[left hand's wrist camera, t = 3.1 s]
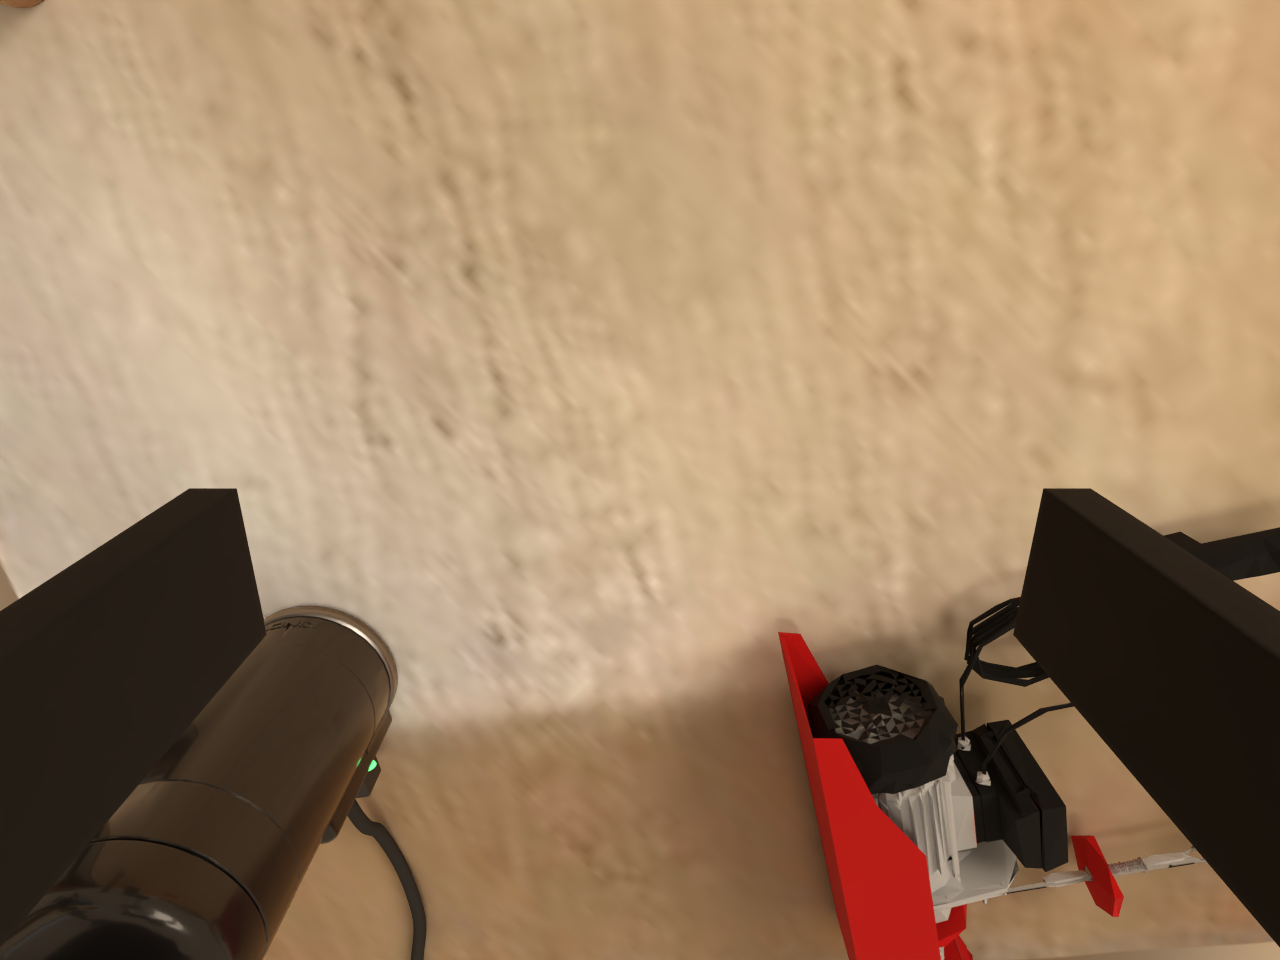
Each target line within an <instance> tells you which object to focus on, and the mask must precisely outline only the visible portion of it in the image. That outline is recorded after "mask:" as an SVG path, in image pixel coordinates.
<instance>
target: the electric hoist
mask: <svg viewBox="0 0 1280 960" xmlns="http://www.w3.org/2000/svg"><path fill="white" fill-rule="evenodd" d="M1164 537H1166V538H1167V539H1169V540H1171V541H1172V542H1174V543H1175V544H1177V545H1178V546H1180V547H1181V548H1183V549H1184V550H1186V551H1188V552H1189V553H1191V554H1192V555H1194V556H1195V557H1197V558H1198V559H1200V560H1201V561H1203V562H1204V563H1206V564H1208V565H1209V566H1211V567H1212V568H1214V569H1215V570H1217V571H1218V572H1220V573H1221V574H1223V575H1225V576H1226V577H1228V578H1229V579H1231V580H1232V581H1234V580H1239V579H1244V578H1250V577H1256V576H1262V575H1267V574H1272V573H1277V572H1280V527H1279V528H1275V529H1270V530H1265V531H1260V532H1256V533H1251V534H1246V535H1241V536H1236V537H1232V538H1227V539H1222V540H1217V541H1213V542H1208V543H1203V544H1201V543H1199V542H1197V541H1195V540H1194V539H1192V538H1190V537H1189V536H1187V535H1185V534H1183V533H1182V532H1177V533H1173V534H1169V535H1165V536H1164ZM1020 600H1021V597H1018V598H1013V599H1009V600H1007V601H1005V602H1003V603H1001V604H998V605H996V606H994V607H993V608H991V609H990V610H988V611H986V612H985V613H983V614H982V615H980V616H979V617H977V618H975V619H974V620H972V621H971V622H970V624H969V627H968V630H967V642H966V652H965V659H964V660H967V664H968V666H967V668H966V669H965V671H964V673H963V675H962V676H961V678H960V709H961V734H957V735H955V734H956V730H957V726H958V725H957V723H956V721H955V720H954V718H953V717H952V715H951V714H950V712H949V711H948V709H947V708H946V706H945V703H944V699H943V698H942V697H940V696H939V695H938V694H937V692H936V691H935V689H934V688H933V686H932V685H931V684H930V683H928V682H927V681H925V680H922V679H919V678H916V677H913V676H910V675H906V674H903V673H900V672H897V671H894V670H891V669H888V668H885V667H882V666H879V665H875V666H871V667H868V668H864V669H860V670H857V671H853V672H850V673H846V674H843V675H841V676H840V677H838V678H837V679H835V680H834V681H832V682H831V683H830V684H828V682H827V680H826V678H825V677H824V675H823V673H822V671H821V670H820V668H819V666H818V664H817V663H816V661H815V659H814V657H813V656H812V654H811V652H810V650H809V649H808V647H807V645H806V643H805V641H804V640H803V638H802V636H801V634H793V633H782V632H778V633H779V638H780V643H781V648H782V653H783V657H784V662H785V667H786V672H787V677H788V681H789V686H790V691H791V696H792V701H793V706H794V710H795V715H796V720H797V725H798V730H799V734H800V739H801V744H802V749H803V754H804V759H805V763H806V768H807V773H808V778H809V783H810V788H811V792H812V797H813V802H814V807H815V812H816V816H817V821H818V826H819V831H820V836H821V841H822V845H823V850H824V855H825V860H826V865H827V869H828V874H829V879H830V884H831V889H832V894H833V898H834V903H835V908H836V913H837V917H838V921H839V925H840V928H841V932H842V935H843V939H844V943H845V946H846V950H847V953H848V957H849V960H973V958H972V954H971V953H970V952H969V951H968V949H967V947H966V945H965V944H964V942H963V941H962V939H961V938H960V936H959V934H960V933H961V932H962V931H963V930H965V929H966V907H967V904H968V903H972V902H976V901H980V900H983V902H984V904H986V903H987V899H989V898H993V897H997V896H1001V895H1007V894H1008V893H1015V892H1021V891H1027V890H1033V889H1040V888H1046V887H1061V886H1066V885H1070V884H1075V883H1079V882H1083V881H1085V883H1086V885H1087V887H1088V889H1089V891H1090V893H1091V896H1092V898H1093V900H1094V902H1095V904H1096V905H1097V906H1098V907H1100V908H1101V909H1103V910H1104V911H1106V912H1107V913H1108V914H1110V915H1111V916H1113V917H1118V916H1119V913H1120V909H1121V905H1122V901H1123V898H1124V896H1123V894H1122V892H1121V890H1120V888H1119V886H1118V884H1117V882H1116V880H1115V878H1114V876H1121V875H1127V874H1133V873H1139V872H1145V871H1152V870H1158V869H1164V868H1170V867H1177V866H1183V865H1189V864H1195V863H1201V862H1207V861H1206V860H1205V859H1199V858H1195V857H1191V856H1188V855H1187V854H1188V853H1189V852H1190V851H1191V850H1192V849H1193V848H1194V846H1193V847H1191V848H1190V849H1188V850H1187V851H1185V852H1178V853H1168V854H1158V855H1150V856H1148V857H1146V858H1144V859H1142V858H1141V857H1138V859H1135V860H1134V859H1133V860H1132V861H1127V862H1123V863H1121V862H1118V863H1114V864H1115V865H1114V864H1112V863H1111V865H1110V864H1107V862H1106V860H1105V858H1104V856H1103V854H1102V852H1101V850H1100V848H1099V846H1098V843H1097V841H1096V839H1095V837H1094V836H1071V837H1072V842H1073V846H1074V851H1075V856H1076V860H1077V865H1078V869H1079V870H1078V871H1068V872H1058V873H1051V874H1049V875H1047V876H1045V877H1043V881H1044V882H1041V883H1035V884H1030V885H1024V886H1019V887H1013V888H1009V886H1010V885H1011V883H1012V881H1013V879H1014V878H1015V876H1016V874H1017V873H1018V871H1019V869H1018V865H1017V861H1016V859H1017V858H1018V859H1019V861H1020V862H1021V863H1022V864H1023V865H1024V867H1026V868H1043V870H1044V871H1045V872H1047V871H1049V870H1052V869H1054V868H1056V867H1058V866H1061V865H1063V864H1065V863H1067V862H1068V845H1067V820H1066V806H1065V804H1064V803H1063V801H1062V800H1061V798H1060V797H1059V795H1058V794H1057V792H1056V791H1055V789H1054V788H1053V786H1052V784H1051V783H1050V781H1049V780H1048V778H1047V777H1046V775H1045V774H1044V772H1043V771H1042V769H1041V768H1040V766H1039V765H1038V763H1037V762H1036V760H1035V759H1034V757H1033V756H1032V754H1031V753H1030V751H1029V750H1028V748H1027V747H1026V745H1025V744H1024V742H1023V741H1022V739H1021V738H1020V736H1019V735H1018V733H1017V732H1016V730H1015V729H1016V728H1018V727H1020V726H1022V725H1024V724H1026V723H1027V722H1029V721H1031V720H1033V719H1035V718H1037V717H1038V716H1040V715H1042V714H1044V713H1046V712H1048V711H1053V710H1058V709H1063V708H1068V707H1073V706H1074V705H1073V704H1072V703H1071V702H1070V703H1065V704H1060V705H1055V706H1050V707H1045V708H1040V709H1039V710H1037V711H1035V712H1034V713H1032V714H1030V715H1028V716H1027V717H1025V718H1023V719H1022V720H1020V721H1018V722H1017V723H1015V724H1013V725H1012V724H1011V723H1010V721H1009V720H1004V721H998V722H991V723H987V727H986V725H985V724H983V725H982V726H980V727H978V728H976V729H974V730H973V731H970V732H965V720H964V684H965V682H966V680H967V678H968V676H969V674H970V672H971V670H972V669H973V670H974V671H975V672H976V673H977V674H979V675H980V676H981V677H982V678H984V679H989V680H994V681H999V682H1004V683H1009V684H1014V685H1019V686H1024V687H1026V686H1028V685H1031V684H1033V683H1036V682H1039V681H1041V680H1044V679H1046V678H1049V676H1048V675H1047V674H1046V672H1045V671H1044V670H1043V669H1042V668H1041V666H1040V665H1039V664H1038V663H1037V662H1035V663H1031V664H1028V665H1024V666H1020V667H1017V668H1015V667H1009V666H1003V665H998V664H992V663H987V662H984V661H981V660H979V657H978V656H979V654H980V652H981V650H982V648H983V646H985V645H986V644H988V643H990V642H991V641H993V640H995V639H996V638H998V637H1000V636H1001V635H1003V634H1005V633H1006V632H1008V631H1010V630H1011V629H1013V628H1015V624H1016V619H1017V618H1016V617H1017V614H1018V609H1019V607H1017V606H1019V604H1020ZM1009 604H1010V605H1009ZM1007 605H1008V606H1007ZM1005 606H1007V607H1005ZM1004 607H1005V608H1004ZM1002 608H1004V609H1002ZM1000 609H1002V610H1000ZM998 610H1000V611H999V612H997V611H998ZM995 612H997V613H996V614H994V615H993V616H991V617H989V618H988V619H986V620H985V621H983V622H981V623H980V624H978V625H977V626H975V627H974V628H973V625H974V624H976V623H977V622H979V621H981V620H983V619H984V618H986V617H988V616H990V615H991V614H993V613H995ZM1015 618H1016V619H1015ZM1012 620H1013V621H1012ZM974 634H975V635H974ZM971 635H972V636H973V635H974V636H973V637H972V636H971ZM974 641H975V642H974ZM977 646H978V648H977V650H976V647H977ZM969 652H970V656H969ZM1028 677H1034V678H1032V679H1030V680H1024V679H1018V678H1028ZM1194 851H1196V849H1195V850H1193V851H1192V852H1194ZM1192 852H1191V853H1192ZM1128 862H1129V863H1128ZM1126 863H1127V864H1126ZM1138 864H1139V865H1138ZM1132 865H1133V866H1132ZM1134 865H1135V866H1134ZM1121 867H1122V868H1121ZM1115 868H1116V869H1115ZM1117 868H1118V869H1117ZM1111 869H1112V870H1111Z"/></svg>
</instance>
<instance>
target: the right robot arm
mask: <svg viewBox="0 0 1280 960" xmlns="http://www.w3.org/2000/svg"><path fill="white" fill-rule="evenodd" d="M264 624H265V629H266V633H267V635H266V636H265V637H264V638H263V640H262V641H261V642H260V643H259V644H258V645H257V647H256V648H255V649H254V650H253V651H252V652H251V654H250V655H249V656H248V657H247V658H246V659H245V661H244V662H243V663H242V664H241V665H240V666H239V668H238V669H237V670H236V671H235V672H234V674H233V675H232V676H231V677H230V678H229V679H228V681H227V682H226V683H225V684H224V685H223V686H222V688H221V689H220V690H219V691H218V692H217V693H216V695H215V696H214V697H213V698H212V699H211V701H210V702H209V703H208V704H207V705H206V706H205V708H204V709H203V710H202V711H201V712H200V713H199V715H198V716H197V717H196V718H195V719H194V720H193V722H192V723H191V724H190V725H189V726H188V728H187V729H186V730H185V731H184V732H183V733H182V735H181V736H180V737H179V738H178V739H177V740H176V742H175V743H174V744H173V745H172V746H171V747H170V749H169V750H168V751H167V752H166V753H165V755H164V756H163V757H162V758H161V759H160V760H159V762H158V763H157V764H156V765H155V766H154V767H153V769H152V770H151V771H150V772H149V773H148V774H147V776H146V777H145V778H144V779H143V780H142V782H141V783H140V784H139V785H138V786H137V787H136V789H135V790H134V791H133V792H132V793H131V794H130V796H129V797H128V798H127V799H126V800H125V801H124V803H123V804H122V805H121V806H120V807H119V809H118V810H117V811H116V812H115V813H114V814H113V816H112V817H111V818H110V819H109V820H108V821H107V823H106V824H105V825H104V826H103V827H102V828H101V830H100V831H99V832H98V833H97V834H96V836H95V837H94V838H93V839H92V840H91V841H90V843H89V844H88V845H87V846H86V847H85V848H84V850H83V851H82V852H81V853H80V854H79V855H78V857H77V858H76V859H75V860H74V861H73V863H72V864H71V865H70V866H69V867H68V868H67V870H66V871H65V872H64V873H63V874H62V875H61V877H60V878H59V879H58V880H57V881H56V882H55V884H54V885H53V886H52V887H51V888H50V890H49V891H48V892H47V893H46V894H45V895H44V897H43V898H42V899H41V900H40V901H39V902H38V904H37V905H36V906H35V907H34V908H33V909H32V911H31V912H30V913H29V914H28V915H27V916H26V918H25V919H24V920H23V921H22V922H21V924H20V925H19V926H18V927H17V928H16V929H15V931H14V932H13V933H12V934H11V935H10V936H9V938H8V939H7V940H6V941H5V942H4V943H3V945H2V946H1V947H0V960H263V958H264V956H265V954H266V952H267V950H268V948H269V946H270V944H271V942H272V940H273V938H274V936H275V934H276V932H277V930H278V928H279V926H280V924H281V922H282V920H283V918H284V916H285V914H286V912H287V910H288V908H289V906H290V904H291V902H292V900H293V898H294V896H295V893H296V891H297V889H298V887H299V885H300V883H301V881H302V879H303V877H304V875H305V873H306V871H307V869H308V867H309V865H310V863H311V861H312V859H313V857H314V855H315V853H316V851H317V849H318V847H319V845H320V844H324V843H328V842H331V841H332V840H334V839H335V838H336V837H337V835H338V834H339V832H340V830H341V827H342V825H343V823H344V821H345V819H346V817H347V816H348V817H349V819H350V820H351V822H352V823H353V824H354V825H355V827H356V828H357V829H358V830H359V831H360V832H361V833H363V834H366V835H370V836H373V837H374V838H375V839H376V840H377V842H378V843H379V844H380V846H381V847H382V848H383V850H384V851H385V853H386V854H387V856H388V858H389V859H390V861H391V863H392V864H393V866H394V868H395V870H396V872H397V874H398V876H399V879H400V881H401V883H402V886H403V888H404V891H405V893H406V896H407V899H408V902H409V906H410V909H411V913H412V918H413V926H414V934H413V945H412V954H411V960H423V957H424V947H425V939H426V918H425V912H424V908H423V904H422V901H421V897H420V894H419V891H418V888H417V885H416V883H415V880H414V878H413V875H412V873H411V871H410V868H409V866H408V864H407V862H406V860H405V858H404V856H403V854H402V852H401V851H400V849H399V847H398V846H397V844H396V842H395V841H394V839H393V838H392V836H391V835H390V834H389V832H388V831H387V830H386V828H385V827H384V826H383V825H382V824H380V823H377V822H373V821H371V820H370V819H369V818H368V817H367V816H366V815H365V813H364V812H363V811H362V809H361V808H360V806H359V804H358V803H357V801H356V799H355V798H360V797H367V796H370V794H371V791H372V789H373V787H374V785H375V783H376V780H377V778H378V776H379V774H380V771H381V769H380V766H379V763H378V761H377V758H376V753H377V751H378V749H379V747H380V745H381V743H382V741H383V739H384V737H385V734H386V732H387V730H388V728H389V726H390V724H391V722H392V719H391V716H390V714H389V708H390V706H391V704H392V702H393V699H394V697H395V693H396V689H397V670H396V665H395V662H394V659H393V657H392V655H391V653H390V651H389V649H388V647H387V646H386V644H385V643H384V642H383V640H382V639H381V638H380V637H379V636H378V635H377V634H376V633H375V632H374V631H373V630H372V629H371V628H370V627H368V626H367V625H366V624H364V623H363V622H361V621H360V620H358V619H356V618H354V617H353V616H350V615H348V614H346V613H343V612H341V611H338V610H334V609H331V608H325V607H318V606H299V607H293V608H289V609H285V610H282V611H279V612H277V613H275V614H273V615H271V616H269V617H268V618H266V619H265V620H264Z"/></svg>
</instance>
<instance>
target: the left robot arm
mask: <svg viewBox="0 0 1280 960" xmlns="http://www.w3.org/2000/svg"><path fill="white" fill-rule="evenodd" d="M266 635H267V633H266V629H265V624H264V619H263V614H262V609H261V604H260V600H259V595H258V590H257V585H256V580H255V575H254V571H253V566H252V561H251V556H250V551H249V546H248V542H247V537H246V532H245V527H244V522H243V517H242V513H241V508H240V503H239V498H238V493H237V489H188V490H187V491H185V492H183V493H182V494H180V495H179V496H177V497H176V498H174V499H173V500H171V501H170V502H168V503H167V504H165V505H163V506H162V507H160V508H159V509H157V510H156V511H154V512H153V513H151V514H150V515H148V516H146V517H145V518H143V519H142V520H140V521H139V522H137V523H136V524H134V525H133V526H131V527H129V528H128V529H126V530H125V531H123V532H122V533H120V534H119V535H117V536H116V537H114V538H113V539H111V540H109V541H108V542H106V543H105V544H103V545H102V546H100V547H99V548H97V549H96V550H94V551H92V552H91V553H89V554H88V555H86V556H85V557H83V558H82V559H80V560H79V561H77V562H76V563H74V564H72V565H71V566H69V567H68V568H66V569H65V570H63V571H62V572H60V573H59V574H57V575H55V576H54V577H52V578H51V579H49V580H48V581H46V582H45V583H43V584H42V585H40V586H39V587H37V588H35V589H34V590H32V591H31V592H29V593H28V594H26V595H25V596H23V597H22V598H20V599H18V600H17V601H15V602H14V603H12V604H11V605H9V606H8V607H6V608H5V609H3V610H2V611H0V947H1V946H2V945H3V943H4V942H5V941H6V940H7V939H8V938H9V936H10V935H11V934H12V933H13V932H14V931H15V929H16V928H17V927H18V926H19V925H20V924H21V922H22V921H23V920H24V919H25V918H26V916H27V915H28V914H29V913H30V912H31V911H32V909H33V908H34V907H35V906H36V905H37V904H38V902H39V901H40V900H41V899H42V898H43V897H44V895H45V894H46V893H47V892H48V891H49V890H50V888H51V887H52V886H53V885H54V884H55V882H56V881H57V880H58V879H59V878H60V877H61V875H62V874H63V873H64V872H65V871H66V870H67V868H68V867H69V866H70V865H71V864H72V863H73V861H74V860H75V859H76V858H77V857H78V855H79V854H80V853H81V852H82V851H83V850H84V848H85V847H86V846H87V845H88V844H89V843H90V841H91V840H92V839H93V838H94V837H95V836H96V834H97V833H98V832H99V831H100V830H101V828H102V827H103V826H104V825H105V824H106V823H107V821H108V820H109V819H110V818H111V817H112V816H113V814H114V813H115V812H116V811H117V810H118V809H119V807H120V806H121V805H122V804H123V803H124V801H125V800H126V799H127V798H128V797H129V796H130V794H131V793H132V792H133V791H134V790H135V789H136V787H137V786H138V785H139V784H140V783H141V782H142V780H143V779H144V778H145V777H146V776H147V774H148V773H149V772H150V771H151V770H152V769H153V767H154V766H155V765H156V764H157V763H158V762H159V760H160V759H161V758H162V757H163V756H164V755H165V753H166V752H167V751H168V750H169V749H170V747H171V746H172V745H173V744H174V743H175V742H176V740H177V739H178V738H179V737H180V736H181V735H182V733H183V732H184V731H185V730H186V729H187V728H188V726H189V725H190V724H191V723H192V722H193V720H194V719H195V718H196V717H197V716H198V715H199V713H200V712H201V711H202V710H203V709H204V708H205V706H206V705H207V704H208V703H209V702H210V701H211V699H212V698H213V697H214V696H215V695H216V693H217V692H218V691H219V690H220V689H221V688H222V686H223V685H224V684H225V683H226V682H227V681H228V679H229V678H230V677H231V676H232V675H233V674H234V672H235V671H236V670H237V669H238V668H239V666H240V665H241V664H242V663H243V662H244V661H245V659H246V658H247V657H248V656H249V655H250V654H251V652H252V651H253V650H254V649H255V648H256V647H257V645H258V644H259V643H260V642H261V641H262V640H263V638H264V637H265V636H266ZM1013 635H1014V636H1015V637H1016V638H1017V640H1018V641H1019V642H1020V643H1021V644H1022V645H1023V647H1024V648H1025V649H1026V650H1027V651H1028V652H1029V654H1030V655H1031V656H1032V657H1033V658H1034V659H1035V661H1036V662H1037V663H1038V664H1039V665H1040V666H1041V668H1042V669H1043V670H1044V671H1045V672H1046V674H1047V675H1048V676H1049V677H1050V678H1051V679H1052V681H1053V682H1054V683H1055V684H1056V685H1057V686H1058V688H1059V689H1060V690H1061V691H1062V692H1063V693H1064V695H1065V696H1066V697H1067V698H1068V699H1069V701H1070V702H1071V703H1072V704H1073V705H1074V706H1075V708H1076V709H1077V710H1078V711H1079V712H1080V713H1081V715H1082V716H1083V717H1084V718H1085V719H1086V720H1087V722H1088V723H1089V724H1090V725H1091V726H1092V728H1093V729H1094V730H1095V731H1096V732H1097V733H1098V735H1099V736H1100V737H1101V738H1102V739H1103V740H1104V742H1105V743H1106V744H1107V745H1108V746H1109V747H1110V749H1111V750H1112V751H1113V752H1114V753H1115V755H1116V756H1117V757H1118V758H1119V759H1120V760H1121V762H1122V763H1123V764H1124V765H1125V766H1126V767H1127V769H1128V770H1129V771H1130V772H1131V773H1132V774H1133V776H1134V777H1135V778H1136V779H1137V780H1138V782H1139V783H1140V784H1141V785H1142V786H1143V787H1144V789H1145V790H1146V791H1147V792H1148V793H1149V794H1150V796H1151V797H1152V798H1153V799H1154V800H1155V801H1156V803H1157V804H1158V805H1159V806H1160V807H1161V809H1162V810H1163V811H1164V812H1165V813H1166V814H1167V816H1168V817H1169V818H1170V819H1171V820H1172V821H1173V823H1174V824H1175V825H1176V826H1177V827H1178V828H1179V830H1180V831H1181V832H1182V833H1183V834H1184V836H1185V837H1186V838H1187V839H1188V840H1189V841H1190V843H1191V844H1192V845H1193V846H1194V847H1195V848H1196V850H1197V851H1198V852H1199V853H1200V854H1201V855H1202V857H1203V858H1204V859H1205V860H1206V861H1207V863H1208V864H1209V865H1210V866H1211V867H1212V868H1213V870H1214V871H1215V872H1216V873H1217V874H1218V875H1219V877H1220V878H1221V879H1222V880H1223V881H1224V882H1225V884H1226V885H1227V886H1228V887H1229V888H1230V890H1231V891H1232V892H1233V893H1234V894H1235V895H1236V897H1237V898H1238V899H1239V900H1240V901H1241V902H1242V904H1243V905H1244V906H1245V907H1246V908H1247V909H1248V911H1249V912H1250V913H1251V914H1252V915H1253V916H1254V918H1255V919H1256V920H1257V921H1258V922H1259V924H1260V925H1261V926H1262V927H1263V928H1264V929H1265V931H1266V932H1267V933H1268V934H1269V935H1270V936H1271V938H1272V939H1273V940H1274V941H1275V942H1276V943H1277V945H1278V946H1279V947H1280V611H1278V610H1277V609H1275V608H1274V607H1272V606H1271V605H1269V604H1268V603H1266V602H1265V601H1263V600H1262V599H1260V598H1258V597H1257V596H1255V595H1254V594H1252V593H1251V592H1249V591H1248V590H1246V589H1245V588H1243V587H1241V586H1240V585H1238V584H1237V583H1235V582H1234V581H1232V580H1231V579H1229V578H1228V577H1226V576H1225V575H1223V574H1221V573H1220V572H1218V571H1217V570H1215V569H1214V568H1212V567H1211V566H1209V565H1208V564H1206V563H1204V562H1203V561H1201V560H1200V559H1198V558H1197V557H1195V556H1194V555H1192V554H1191V553H1189V552H1188V551H1186V550H1184V549H1183V548H1181V547H1180V546H1178V545H1177V544H1175V543H1174V542H1172V541H1171V540H1169V539H1167V538H1166V537H1164V536H1163V535H1161V534H1160V533H1158V532H1157V531H1155V530H1154V529H1152V528H1151V527H1149V526H1147V525H1146V524H1144V523H1143V522H1141V521H1140V520H1138V519H1137V518H1135V517H1134V516H1132V515H1130V514H1129V513H1127V512H1126V511H1124V510H1123V509H1121V508H1120V507H1118V506H1117V505H1115V504H1113V503H1112V502H1110V501H1109V500H1107V499H1106V498H1104V497H1103V496H1101V495H1100V494H1098V493H1097V492H1095V491H1093V490H1092V489H1043V493H1042V498H1041V503H1040V508H1039V513H1038V517H1037V522H1036V527H1035V532H1034V537H1033V542H1032V546H1031V551H1030V556H1029V561H1028V566H1027V571H1026V575H1025V580H1024V585H1023V590H1022V595H1021V600H1020V604H1019V609H1018V614H1017V619H1016V624H1015V629H1014V633H1013Z"/></svg>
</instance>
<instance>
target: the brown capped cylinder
mask: <svg viewBox="0 0 1280 960" xmlns="http://www.w3.org/2000/svg"><path fill="white" fill-rule="evenodd" d="M41 1H43V0H0V3H1V4H5V5H8V6H11V7H17V8H26V7H31V6H34V5H36V4H38V3H40V2H41Z"/></svg>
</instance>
